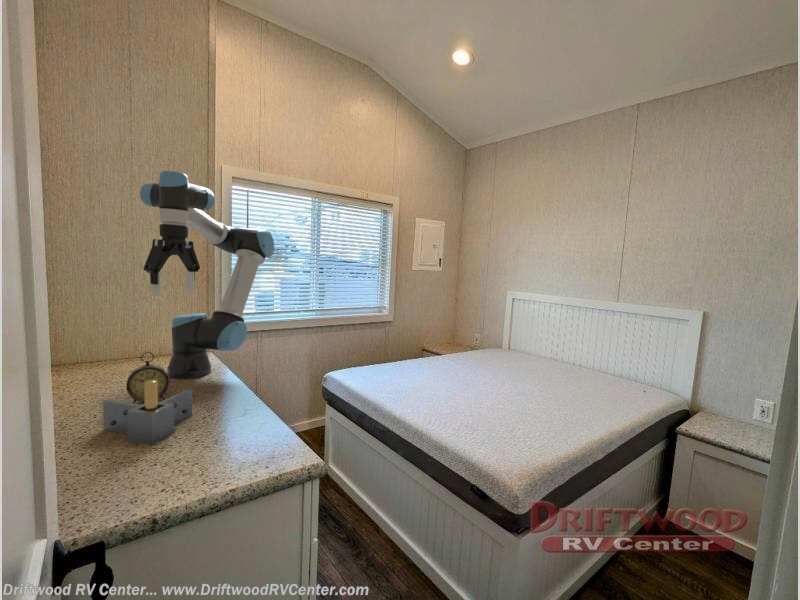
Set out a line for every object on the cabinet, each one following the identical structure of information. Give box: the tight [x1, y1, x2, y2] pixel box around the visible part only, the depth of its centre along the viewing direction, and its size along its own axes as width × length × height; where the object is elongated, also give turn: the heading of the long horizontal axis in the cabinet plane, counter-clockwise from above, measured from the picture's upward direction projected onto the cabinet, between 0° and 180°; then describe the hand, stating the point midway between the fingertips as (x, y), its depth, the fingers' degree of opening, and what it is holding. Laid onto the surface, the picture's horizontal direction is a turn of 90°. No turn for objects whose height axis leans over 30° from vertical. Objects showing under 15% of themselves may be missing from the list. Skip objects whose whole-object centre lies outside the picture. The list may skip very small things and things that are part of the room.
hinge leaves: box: [102, 388, 193, 446], centre depth 104 cm, size 18×18×8 cm
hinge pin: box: [144, 380, 159, 412], centre depth 98 cm, size 3×3×15 cm
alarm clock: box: [125, 351, 170, 404], centre depth 118 cm, size 11×5×16 cm, turn 123°
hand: (174, 293), depth 118 cm, fingers open, 13 cm apart
